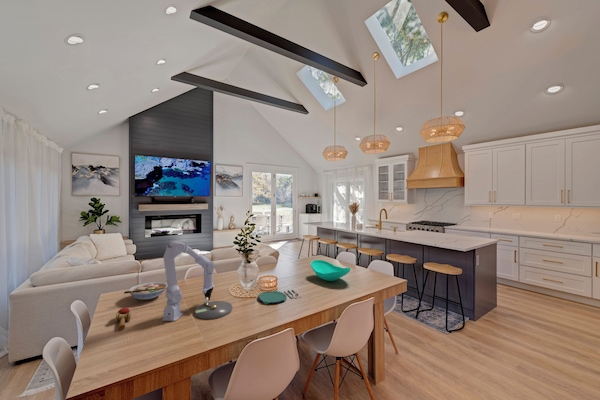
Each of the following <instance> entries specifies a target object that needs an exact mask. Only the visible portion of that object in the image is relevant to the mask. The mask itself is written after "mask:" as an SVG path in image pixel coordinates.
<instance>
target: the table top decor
mask: <svg viewBox="0 0 600 400" xmlns="http://www.w3.org/2000/svg"><path fill="white" fill-rule="evenodd" d="M310 266H311V269H312V271H313V272H314V274H316V276H317V277H318V278H320V279H322V280H324V281H327V282H335V281H337V280H339V279H342V277H345V276H347V274H349V273H350V272H351V269H352V268H351V267H340V266H337V265H334V264H333V263H331V262H328V261H325V260H321V259H315V260H312V261H310Z"/></svg>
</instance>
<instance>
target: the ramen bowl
mask: <svg viewBox="0 0 600 400" xmlns="http://www.w3.org/2000/svg"><path fill="white" fill-rule="evenodd" d="M167 286H168V285H167V282H163V281H161V282H160V281H151V282H145V283H140V284H137V285H134V286H132V287H130V288H129V290H127V291H125V290H124V292H123V293H124V294H130V295H131V296H132V298H134V299H136V300H143V301H149V300H153V299H156V298H157V297H159V296H160V295H162V294H163V293H164V292H165V291H166V288H167ZM124 294H123V295H124Z"/></svg>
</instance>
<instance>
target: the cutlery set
mask: <svg viewBox="0 0 600 400" xmlns="http://www.w3.org/2000/svg"><path fill="white" fill-rule="evenodd" d="M291 291H292V292H291ZM283 292H284V293H283ZM283 292H282V291H278V290H272V291H265V292H261V293H259V294H258V296H257V298H258V300H259V302H262V303H263V304H264V305H265V306H266V305H268V304H278V303H282V302H285V301H286V300H287V299H288V298H289V299H291V300H293V297H296V295H300V294H299V293H297V292H296V291H295V290H294V289H291V290H288V289H287V292H288V293H287V292H286V290H285V291H284V290H283ZM293 293H294V294H295V293H296V294H295V296H293V295H294V294H293ZM287 295H288V297H287ZM290 295H291V296H290ZM292 296H293V297H292Z"/></svg>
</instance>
